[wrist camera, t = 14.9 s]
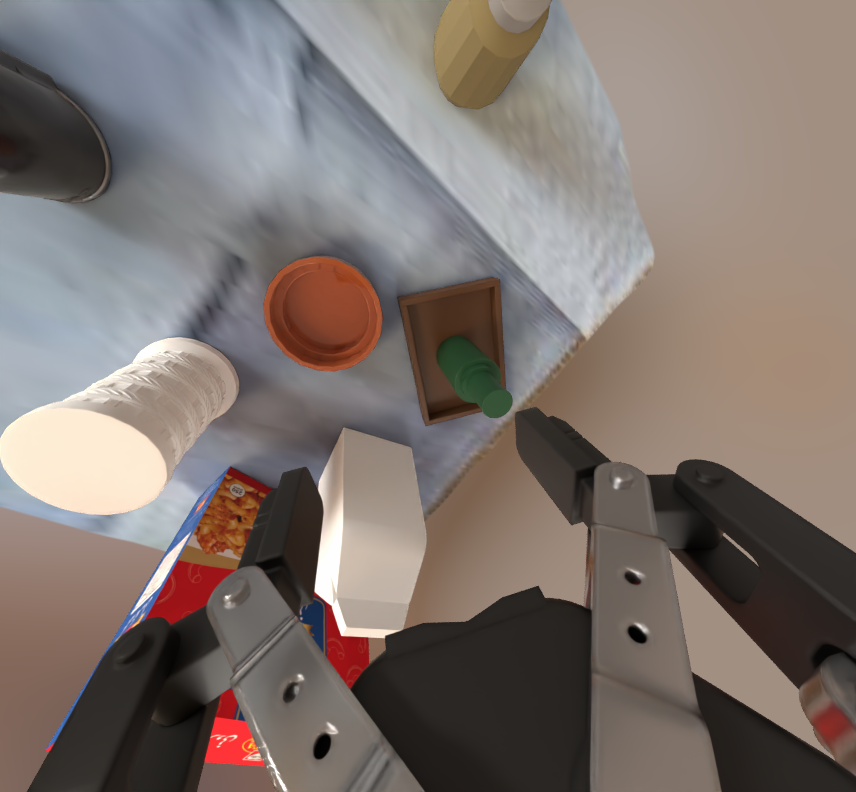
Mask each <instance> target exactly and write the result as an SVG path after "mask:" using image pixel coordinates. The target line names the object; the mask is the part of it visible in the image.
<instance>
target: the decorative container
mask: <svg viewBox="0 0 856 792" xmlns="http://www.w3.org/2000/svg"><path fill="white" fill-rule="evenodd" d="M238 392H239V379H238V376H237V373H236V370H235V369H234V367H233V366H232V364H231V363H230V361H229V360H228V359H227V358H226V357H225V356H224V355H223V354H222V353H221V352H219V351H218V350H216V349H215V348H213V347H211V346H210V345H208V344H206V343H203V342H200V341H198V340H195V339H189V338H182V337H177V338H166V339H163V340H160V341H157V342H154V343H152V344H150V345H149V346H147V347H146V348H144V349H143V350H142V351H140V352H139V354H138V355H137V356H136V358H135V359H134V361H133V363H132V364H130V365H128V366H126V367H125V368H121V369H120V370H118V371H115V372H114V374H112V375H110V376H109V377H107V378H105V379H103V380H98V381H97V383H93V384H92V385H91V387H88V388H87V389H86V390H85V391H84V392H83V391H82V392H79V393H78V394H76V395H71V396H70V398H66V399H64V401H62V402H54V403H51V404H48V405H45V406H42V407H39V408H36V409H34V410H33V411H31V412H29V413H27V414H25V415H23V416H21V417H20V418H19V419H17V420H16V421H14V422H13V423H12V424H10V425H9V426H8V427H7V428H6V430H5V432H4V433H3V435H2V436H1V438H0V459H1V462H2V465H3V467H4V469H5V471H6V472H7V473H8V474H9V476H10V477H11V478H12V479H13V481H14V482H15V483H16V484H18V485H19V486H20V487H21V488H23V489H24V490H25V491H27V492H28V493H29V494H30V495H32V496H34V497H36V498H38V499H40V500H42V501H44V502H46V503H48V504H50V505H53V506H56V507H60V508H63V509H66V510H69V511H74V512H80V513H86V514H105V515H110V514H117V513H124V512H129V511H132V510H135V509H138V508H140V507H143V506H145V505H146V504H148V503H150V502H151V501H153V500H154V499H156V497H157V496H158V495H159V494H160V492H161V491H162V490H163V489H164V487H165V486H166V485H167V484H168V482H169V481H170V480H171V478H172V474H173V471H174V468H175V467H176V466H177V465H178V464H179V462H180V461H181V459H182V457H183V455H184V453H185V452H187V451H188V450H189V449H190V448H191V447H192V446H193V445H194V443H195V442H196V440H197V438H198V436H200V435H201V434H202V433H203V432H204V431H205V430H206V428H207V427H208V425H209V423H210V422H211V421H212V420H213V419H215V418H218V417H219V416H221V415H222V414H224V413H225V412H227V410H228V409H229V408H230V407H231V406H232V404H233V403H234V402H235V400H236V398H237V395H238Z"/></svg>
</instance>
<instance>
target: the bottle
mask: <svg viewBox="0 0 856 792" xmlns="http://www.w3.org/2000/svg"><path fill="white" fill-rule="evenodd" d="M436 360H437V364H438V366H439V367H440V369H441V370H442V372H443V373H444V375H445V376H446V378H447V380H448V381H449V383H450V384H451V386H452V387H453V389H454V390H455V392H456V393H457V395H458V396H459V397H460V398H461V399H462V400H464V401H466V402H469V403H477V404H478V406H479V407H480V408H481V410H482V411H483V412H484V414H485V415H486V416H488V417H490V418H499V417H501V416H503V415H505V414H506V413H507V412H508V411H509V410H510V408H511V406H512V401H513V400H512V396H511V394H510V393H509V392H508V391H507V390H506V389H505V388H504V387H503V386H502V385H501V384H500V382H501V372H500V369H499V367H498V366H497V365H496V363H494V362H493V361H492V360H491V359H490V358H489V357H488V356H487V355H486V354H484V353H483V352H482V351H481V350H480V349H479V348H478V347H477V346H475V345H474V344H473V343H472V342H471V341H470V340H469V339H467V338H466V337H463V336H452V337H449V338H447V339H445V340H444V341H443V342H442V343H441V344H440V346H439V347H438V349H437V353H436Z"/></svg>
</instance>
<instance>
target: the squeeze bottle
mask: <svg viewBox="0 0 856 792" xmlns="http://www.w3.org/2000/svg"><path fill="white" fill-rule="evenodd" d="M551 1H552V0H450V2H449V4H448V5H447V7H446V9H445V10H444V12H443V14H442V16H441V19H440V22H439V25H438V28H437V31H436V34H435V43H434V62H435V67H436V72H437V77H438V81H439V85H440V89H441V90H442V92H443V94H444V95H445V97H446V98H447V100H448V101H450V102H451V103H453V104H454V105H455V106H458V107H464V108H472V109H480V108H482V107H484V106H487V105H489V104H491V103H493V102H494V101H495V99H496V98H497V97H498V96H499V95H500V94H501V93H502V91H503V90H504V89H505V88H506V86H507V85H508V83H509V82H510V80H511V79H512V77H513V76H514V74H515V73H516V71H517V70H518V69H519V67H520V66H521V64H522V63H523V61H524V60H525V58H526V57H527V55H528V54H529V52H530V51H531V50H532V48H533V47H534V45H535V44H536V42H537V41H538V39H539V38H540V35H541V33H542V31H543V28H544V26H545V24H546V21H547V19H548V14H549V7H550V3H551Z"/></svg>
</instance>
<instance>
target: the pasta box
mask: <svg viewBox="0 0 856 792" xmlns="http://www.w3.org/2000/svg"><path fill="white" fill-rule="evenodd" d="M271 490H273V489H271V488H269V487H267V486H266V485H264V484H262V483H260V482H258V481H256V480H254V479H252V478H250V477H249V476H247V475H245V474H243V473H241V472H239V471H237V470H235V469H233V468H232V467H229V468H228V469H227V470H226V471H225V472H224V473H223V474H222V475H221V476H220V477H219V478H218V479H217V480H216V481H215V482H214V483H213V484H212V485H211V486H210V487H209V488H208V489H207V490H206V491H205V492H204V493H203V494H202V495H201V496H200V497H199V498H198V500H197V502H196V503H195V505H194V507H193V508H192V510H191V512H190V513H189V515H188V517H187V518H186V520H185V522H184V523H183V525H182V526H181V528H180V530H179V531H178V533H177V535H176V536H175V538H174V540H173V541H172V543H171V545H170V546H169V548H168V549H167V551H166V553H165V554H164V556H163V558H162V559H161V561H160V563H159V564H158V566H157V568H156V569H155V571H154V573H153V574H152V576H151V577H150V579H149V581H148V582H147V584H146V586H145V587H144V589H143V591H142V592H141V594H140V596H139V597H138V599H137V600H136V602H135V604H134V606H133V607H132V609H131V610H130V612H129V614H128V615H127V617H126V619H125V620H124V622H123V624H122V625H121V627H120V628H119V630H118V632H117V633H116V635H115V637H114V639H113V640H112V642H111V643H110V645H109V647H108V648H107V650H106V652H107V651H108V649H109V648H110V647H111V646H112V645H113V644H114V643H115V642H116V641H117V640H118V639H119V638H120V637H121V636H122V635H123V634H124V633H125V632H127V631H128V630H129V629H131V628H132V627H134V626H135V625H137V624H138V623H140V622H142V621H144V620H147V619H149V618H153V617H163V618H165V619H166V620H167V621H168V622H169V623H170V624H171V625H172V624H173V623H175V622H177V621H179V620H180V619H182V618H184V617H186V616H187V615H189V614H191V613H193V612H194V611H196V610H198V609H200V608H201V607H203V606H205V605H206V604H207V603H208V600H209V598H210V596H211V594H212V592H213V591H214V589H215V588H216V587H217V586H218V585H219V584H220V583H221V582H222V581H223V580H224V579H225V578H226V577H227V576H229V575H230V574H231V573H233V572H235V571H236V570H237V567H238V565H239V562H240V559H241V556H242V554H243V551H244V548H245V545H246V542H247V540H248V537H249V534H250V531H251V529H253V527H252V526H253V523H254V520H255V518H256V515H257V512H258V509H259V506H260V504H261V502H262V501H263V500H264V498H265V497H266V496H267V495H268V493H269V492H270V491H271ZM298 619H299V620H300V622H301V623H302V624H303V626H304V627H305V629H306V630H307V631H308V633H309V634H310V635H311V637H312V638H313V639H314V641H315V642H316V644H317V645H318V646H319V648H320V649H321V650H322V652H323V653H324V655H325V656H326V657H327V659H328V660H329V661H330V663H331V664H332V666H333V667H334V668H335V670H336V671H337V672H338V674H339V675H340V676H341V678H342V679H343V681H344V682H345V683H346V685H347V686H348V687H349V689H350V688H351V687H352V685H353V684H354V682H355V681H356V679H357V678H358V677H359V675H360V674H361V673H362V671H363V670H364V669H365V668H366V667H367V666H368V665H369V644H368V637H354V636H341V633H340V630H339V627H338V624H337V621H336V618H335V615H334V612H333V609H332V605H330V604H329V603H327V602H326V601H325V600H324V599H323V598H321V597H320V596H319V595H318V594H316V592H314V600H313V604H310V605H306V606H303V607H300V611H299V617H298ZM106 652H105V653H106ZM105 653H104V655H105ZM104 655H103V656H104ZM103 656H102V657H103ZM101 659H102V658H101ZM100 661H101V660H100ZM100 661H99V662H100ZM98 664H99V663H98ZM97 666H98V665H97ZM97 666H96V668H97ZM96 668H95V669H96ZM94 671H95V670H94ZM94 671H93V673H94ZM93 673H92V675H93ZM92 675H91V676H90V678H91V677H92ZM90 678H89V680H90ZM89 680H88V681H87V683H86V685H87V684H88V682H89ZM86 685H85V686H84V688H83V689H82V691H81V693H80V694H79V696H78V698H77V699H76V701H75V703H74V704H73V706H72V707H71V709H70V711H69V713H68V714H67V716H66V717H65V719H64V721H63V723H62V724H61V726H60V727H59V729H58V730H57V732H56V734H55V735H54V737H53V739H52V740H51V742H50V744H49V745H48V747H47V749H46V751H50V750H51V748H52V746H53V744H54V743H55V741H56V739H57V737H58V735H59V734H60V732H61V730H62V728H63V726H64V725H65V723H66V721H67V719H68V718H69V716H70V714H71V712H72V710H73V709H74V707H75V705H76V703H77V702H78V700H79V698H80V696H81V694H82V693H83V691H84V689H85V687H86ZM204 762H211V763H226V764H240V765H254V766H265V765H264V763H263V760H262V758H261V756H260V753H259V751H258V749H257V746H256V744H255V742H254V739H253V737H252V735H251V732H250V730H249V728H248V725H247V723H246V721H245V718H244V716H243V714H242V711H241V709H240V707H239V704H238V702H237V700H236V697H235V695H234V693H233V690H232V688H229V689H228V690H227V691H225V692H224V693H222V694H221V697H220V701H219V705H218V709H217V713H216V717H215V721H214V725H213V729H212V733H211V737H210V741H209V745H208V749H207V753H206V757H205V761H204Z"/></svg>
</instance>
